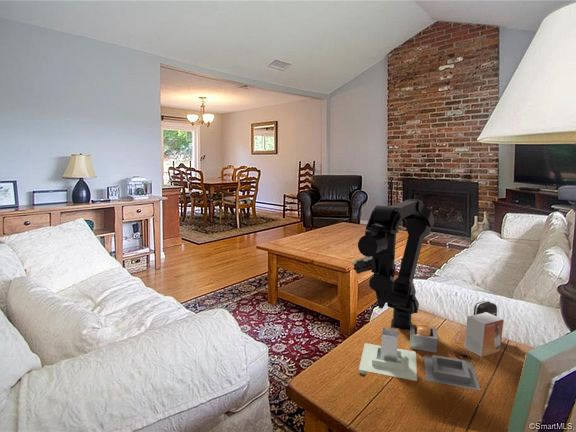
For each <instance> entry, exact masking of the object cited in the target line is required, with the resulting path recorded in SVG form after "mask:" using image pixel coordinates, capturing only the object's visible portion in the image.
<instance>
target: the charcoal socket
mask: <svg viewBox="0 0 576 432" xmlns="http://www.w3.org/2000/svg"><path fill="white" fill-rule="evenodd" d="M423 361H424V364H423V366H424V374H425V376H424V377H425V381H427V382H432V383H438V384H443V385H449V386H453V387H459V388H463V389H464V388H465V389H467V390H468V389H469V390H474V391H477V392H478V391H480V392H482V389H481V387H480V383H479V380H478V378H477V374H476V370H475V368H474V365H473V363H472V362H468V361H466V360H464V359H459V358H453V357H447V356H441V355H434V354H432V355H427V354H423Z"/></svg>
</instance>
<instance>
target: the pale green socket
mask: <svg viewBox="0 0 576 432" xmlns="http://www.w3.org/2000/svg"><path fill="white" fill-rule="evenodd" d="M417 368H418V367H417V352H416V351H413V350H408V349H401V348H397V362H391V361H386V360H381V345H379V344H373V343H366V342H365V343H364V345H363V350H362V355H361V358H360V363H359V366H358V374H360V373H361V375H367V373H368V372H369V373H373V374H379V375H385V376H389V377H393V378H394V377H395V378H399V379H404V380H409V381H416V382H417V381H418V370H417Z"/></svg>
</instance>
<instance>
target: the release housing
mask: <svg viewBox="0 0 576 432" xmlns="http://www.w3.org/2000/svg"><path fill="white" fill-rule="evenodd" d="M417 326H419V325H417V324H413V323H412V324H411V328H410V330H409V348H410V349H412V350H417V351H418V350H419V351H423V352H430V353H436V354H437V352H438V339H439V337H438V334H437V333H438V332H437V327H432V326H428V327H429V328H430V329H431V331H430V336H425V335H418V334H417Z"/></svg>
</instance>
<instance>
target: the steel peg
mask: <svg viewBox="0 0 576 432" xmlns="http://www.w3.org/2000/svg"><path fill="white" fill-rule="evenodd" d="M398 342H399V329H397V328H388V327H383V328H382V331H381V341H380V343H381V345H380V346H381V360H386V361H391V362H397V349H398V346H399V343H398Z"/></svg>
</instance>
